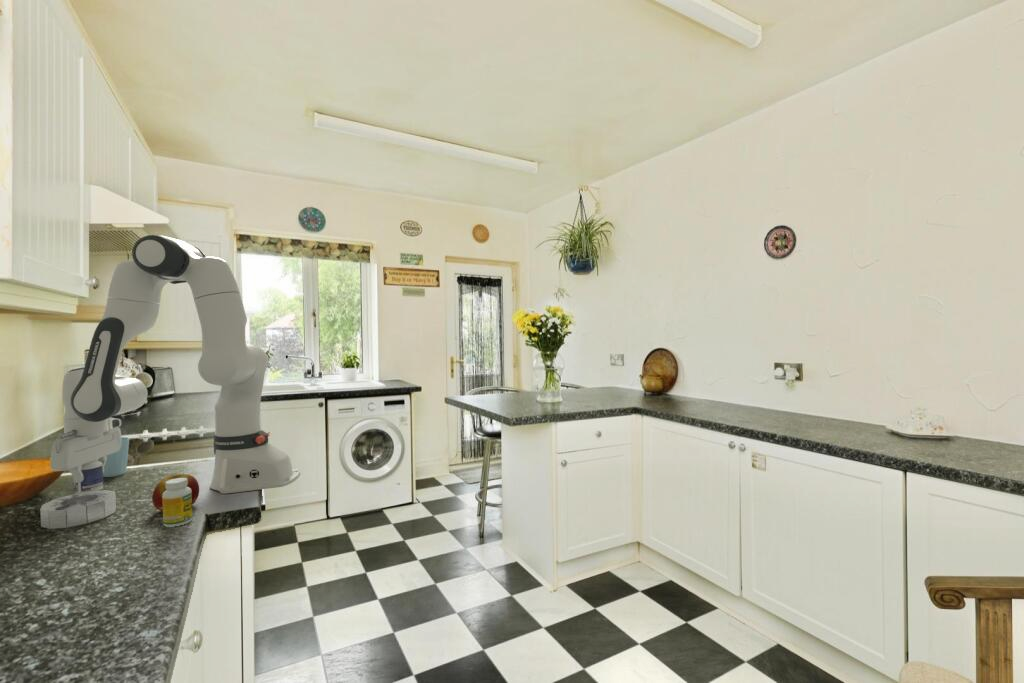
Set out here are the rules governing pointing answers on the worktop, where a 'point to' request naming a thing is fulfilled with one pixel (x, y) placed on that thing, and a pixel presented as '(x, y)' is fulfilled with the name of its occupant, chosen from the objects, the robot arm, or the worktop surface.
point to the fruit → (161, 489)
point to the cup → (117, 460)
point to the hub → (77, 509)
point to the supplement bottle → (177, 503)
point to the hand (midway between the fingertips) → (89, 477)
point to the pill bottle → (91, 476)
